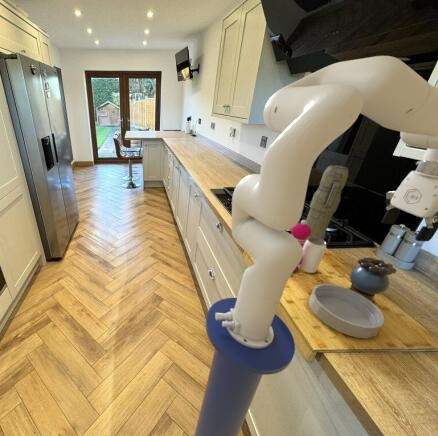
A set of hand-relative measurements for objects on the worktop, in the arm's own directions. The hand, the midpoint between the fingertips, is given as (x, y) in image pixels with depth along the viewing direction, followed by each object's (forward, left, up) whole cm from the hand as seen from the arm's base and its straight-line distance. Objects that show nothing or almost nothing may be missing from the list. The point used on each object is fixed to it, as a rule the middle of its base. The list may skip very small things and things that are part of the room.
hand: (403, 231), depth 65 cm
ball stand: (-1, +1, -25) cm, 25 cm away
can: (-10, +15, -25) cm, 31 cm away
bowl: (-13, -7, -25) cm, 29 cm away
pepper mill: (-17, +15, -25) cm, 33 cm away
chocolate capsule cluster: (-1, +1, -13) cm, 13 cm away
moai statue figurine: (+1, +32, -25) cm, 40 cm away
